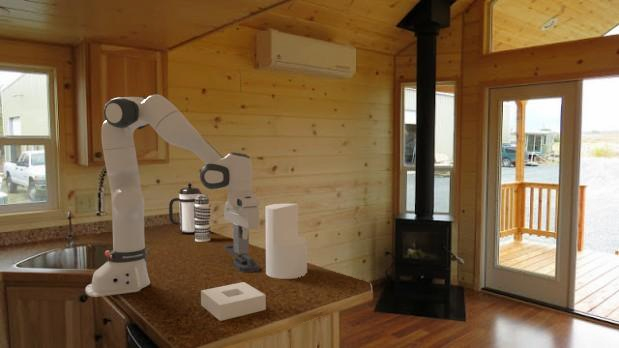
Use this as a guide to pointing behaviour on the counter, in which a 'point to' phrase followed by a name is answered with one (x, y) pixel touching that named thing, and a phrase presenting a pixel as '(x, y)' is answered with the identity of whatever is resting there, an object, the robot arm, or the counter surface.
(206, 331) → the counter surface
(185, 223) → the coffee press
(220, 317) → the well block
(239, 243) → the metal bar
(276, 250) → the cylinder
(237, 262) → the zipper pull
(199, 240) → the decorative candle
